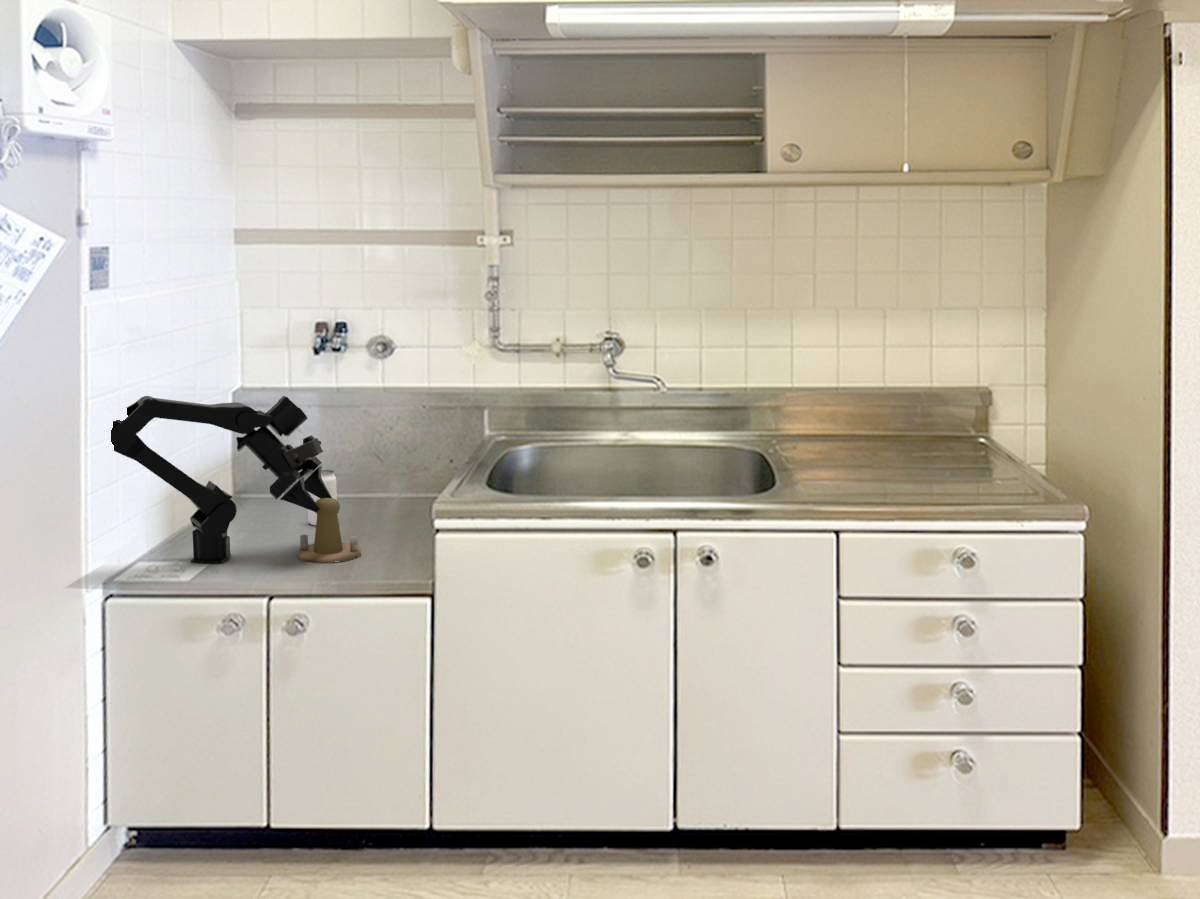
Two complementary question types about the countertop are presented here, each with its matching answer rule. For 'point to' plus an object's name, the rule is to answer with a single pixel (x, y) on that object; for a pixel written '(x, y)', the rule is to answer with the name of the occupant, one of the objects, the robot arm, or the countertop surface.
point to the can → (330, 484)
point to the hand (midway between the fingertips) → (324, 505)
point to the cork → (327, 527)
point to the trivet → (308, 554)
